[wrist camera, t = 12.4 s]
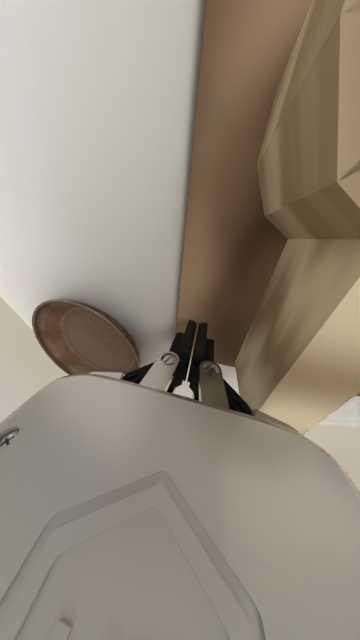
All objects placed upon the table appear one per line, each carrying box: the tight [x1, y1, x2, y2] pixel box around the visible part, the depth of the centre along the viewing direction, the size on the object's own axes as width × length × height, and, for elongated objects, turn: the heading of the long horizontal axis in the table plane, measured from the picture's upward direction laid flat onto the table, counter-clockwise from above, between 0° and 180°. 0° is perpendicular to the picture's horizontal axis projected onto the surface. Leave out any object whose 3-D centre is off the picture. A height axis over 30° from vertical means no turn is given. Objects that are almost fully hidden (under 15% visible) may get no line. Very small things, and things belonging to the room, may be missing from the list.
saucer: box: [32, 300, 140, 375], centre depth 19 cm, size 15×15×3 cm
